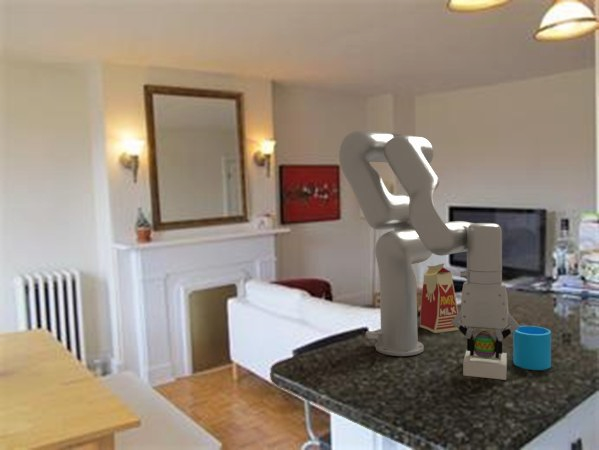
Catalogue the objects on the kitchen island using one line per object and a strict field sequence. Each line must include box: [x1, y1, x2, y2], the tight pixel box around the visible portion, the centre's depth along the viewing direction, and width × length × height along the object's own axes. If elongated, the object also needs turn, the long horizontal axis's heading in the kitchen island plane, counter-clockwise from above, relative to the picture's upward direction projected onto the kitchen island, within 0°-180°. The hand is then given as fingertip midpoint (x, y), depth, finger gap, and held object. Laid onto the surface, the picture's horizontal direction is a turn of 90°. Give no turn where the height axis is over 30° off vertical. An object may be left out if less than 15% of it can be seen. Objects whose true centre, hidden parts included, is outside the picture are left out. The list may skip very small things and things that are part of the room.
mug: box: [512, 325, 552, 371], centre depth 125 cm, size 12×8×8 cm
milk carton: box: [419, 263, 460, 334], centre depth 156 cm, size 9×9×20 cm
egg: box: [474, 330, 496, 359], centre depth 119 cm, size 5×5×6 cm
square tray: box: [462, 349, 508, 381], centre depth 120 cm, size 9×9×3 cm
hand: (484, 354), depth 119 cm, fingers closed on egg, 4 cm apart
